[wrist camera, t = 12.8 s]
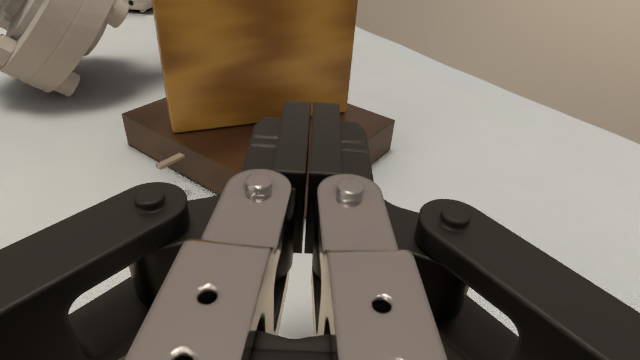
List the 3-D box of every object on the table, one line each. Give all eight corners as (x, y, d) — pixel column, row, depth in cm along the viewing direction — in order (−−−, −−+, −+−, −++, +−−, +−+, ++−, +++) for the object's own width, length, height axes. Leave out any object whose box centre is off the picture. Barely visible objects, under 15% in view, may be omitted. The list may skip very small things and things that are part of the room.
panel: (83, 151, 25) (73, 117, 24) (256, 81, 35) (255, 54, 33) (274, 270, 18) (274, 231, 17) (421, 142, 28) (427, 111, 27)
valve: (213, 193, 38) (329, 57, 34) (-74, 71, 24) (68, -174, 21) (190, 130, 45) (284, 12, 41) (-43, 8, 31) (68, -182, 28)
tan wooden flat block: (172, 134, 23) (150, -14, 19) (169, 120, 24) (148, -22, 20) (346, 112, 26) (360, -18, 22) (336, 101, 28) (347, -25, 23)
